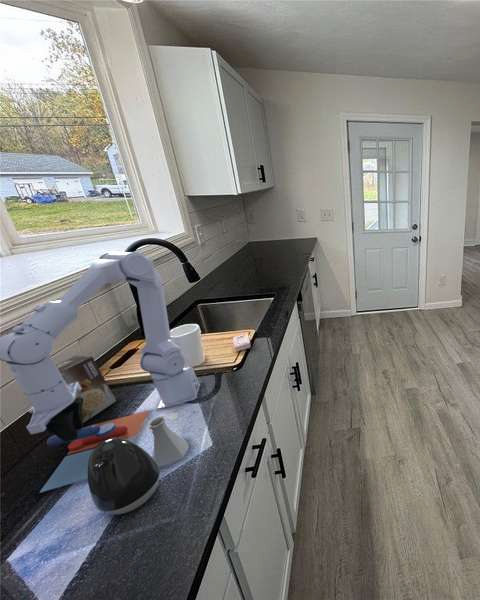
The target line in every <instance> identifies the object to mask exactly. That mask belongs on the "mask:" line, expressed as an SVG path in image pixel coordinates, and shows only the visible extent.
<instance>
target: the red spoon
mask: <svg viewBox="0 0 480 600" xmlns="http://www.w3.org/2000/svg"><path fill="white" fill-rule="evenodd" d="M126 431H127V427H126V426H124V425H122V426H118V427H116V429H115V430H114V431H113V432H111V433H110V434H108V435H106V436H103V437H96V435H93V436H89V437H86V438H82V439H78V440H74V441H71V442H69V444H68V446H67V448H68V450H69V451H76V450H78V449H81V448H83V447H84V446H86V445H87V444H89V443H92V442H96V441H100V440H103V439H107V438H111V437H114V436H118V435H122V434H124V433H126Z"/></svg>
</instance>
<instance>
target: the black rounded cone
mask: <svg viewBox="0 0 480 600" xmlns="http://www.w3.org/2000/svg"><path fill="white" fill-rule="evenodd" d="M127 439H128V438H126V439H124V438H118V437H115V438H110V439H107V440H104V441H103V442H101V443H99V444H98V445H97V446H96V447H94V448H92V449H93V451H92V453H91V455H90V458H89V461H88V470H87V473H88V479H87V484H88V485H87V486H88V490H89V495H90V498H91V501H92V503H93V505H94V507H95V508H96V509H97V510H98V511H100V512H104V513H105V514H106V513H107V514H109V515H122V514H123V515H124V514H127V513H129V512H132V511H135V510H136V509H138V508H140V507H141V506H143V505H144V504H145V503H146V502H147V501H148V500H149V499H150V498H151V497H152V496H153V495H154V493H155V492H156V490H157V488H158V485H159V481H160V474H161V469H160V466H159V467H158V465H157V463H156V462H155V461H154V460H153V456H151V455H150V453H149V452H147V451H146V450H144V448H142V447H141V446H140V445H138V444H137V443H135V442H132V441H129V440H127Z"/></svg>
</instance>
